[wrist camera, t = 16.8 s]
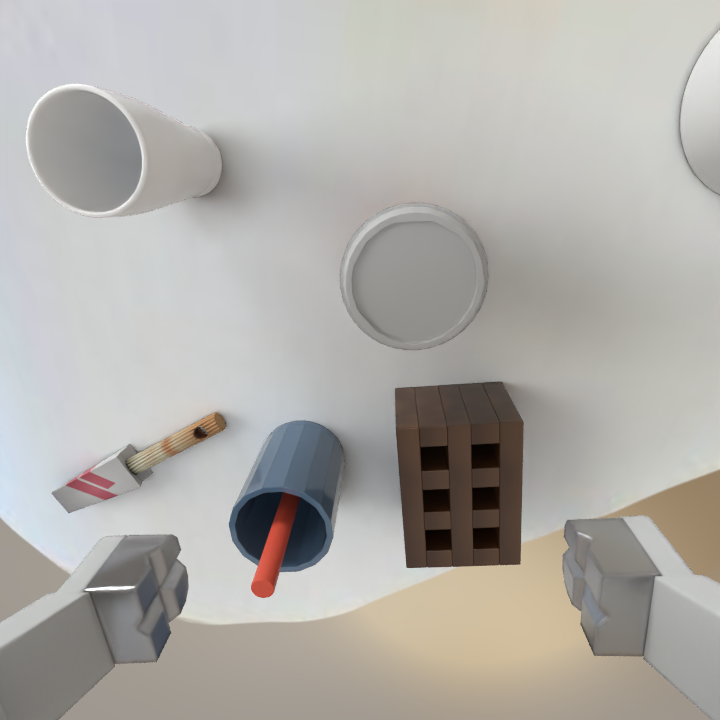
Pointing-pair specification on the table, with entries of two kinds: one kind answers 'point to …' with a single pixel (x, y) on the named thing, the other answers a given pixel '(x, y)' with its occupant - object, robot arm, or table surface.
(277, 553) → the straw
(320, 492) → the tumbler
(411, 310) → the disposable coffee cup
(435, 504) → the caddy
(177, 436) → the grey and wooden tool
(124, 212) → the drinking glass
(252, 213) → the table surface
